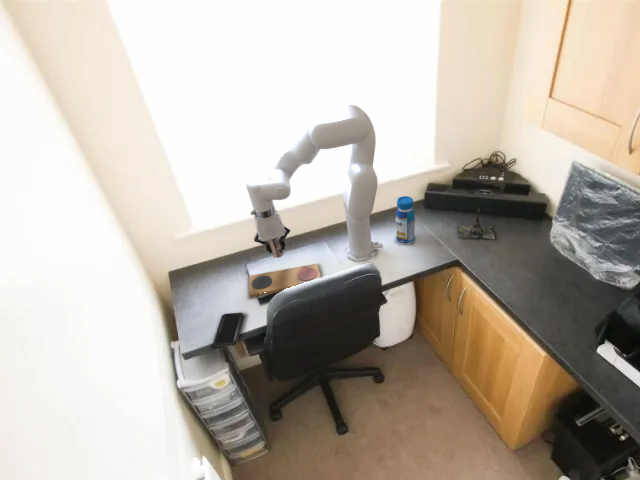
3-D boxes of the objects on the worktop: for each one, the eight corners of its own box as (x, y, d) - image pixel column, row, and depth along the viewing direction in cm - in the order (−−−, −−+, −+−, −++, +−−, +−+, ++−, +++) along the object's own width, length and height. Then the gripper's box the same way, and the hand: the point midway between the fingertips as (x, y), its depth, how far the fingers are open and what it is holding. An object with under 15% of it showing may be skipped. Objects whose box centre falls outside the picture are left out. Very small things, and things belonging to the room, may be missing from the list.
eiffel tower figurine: (491, 226, 189) (495, 200, 180) (494, 239, 182) (499, 212, 173) (458, 226, 190) (460, 200, 181) (460, 239, 183) (462, 212, 174)
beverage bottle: (416, 243, 181) (417, 203, 168) (397, 246, 181) (396, 205, 167) (413, 233, 188) (413, 193, 174) (394, 235, 187) (393, 195, 174)
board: (318, 266, 172) (317, 262, 171) (321, 284, 164) (321, 280, 162) (250, 278, 168) (249, 275, 167) (250, 297, 159) (248, 294, 158)
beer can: (281, 259, 167) (274, 234, 159) (270, 258, 168) (262, 233, 160) (285, 252, 170) (278, 227, 162) (275, 251, 171) (267, 226, 163)
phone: (243, 312, 151) (235, 343, 140) (244, 314, 152) (236, 345, 141) (222, 313, 151) (211, 344, 140) (223, 316, 152) (213, 347, 141)
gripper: (243, 221, 150) (257, 261, 163) (289, 209, 155) (299, 248, 167) (240, 212, 156) (254, 251, 168) (284, 200, 160) (294, 239, 172)
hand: (276, 249), depth 167 cm, fingers closed on beer can, 4 cm apart
